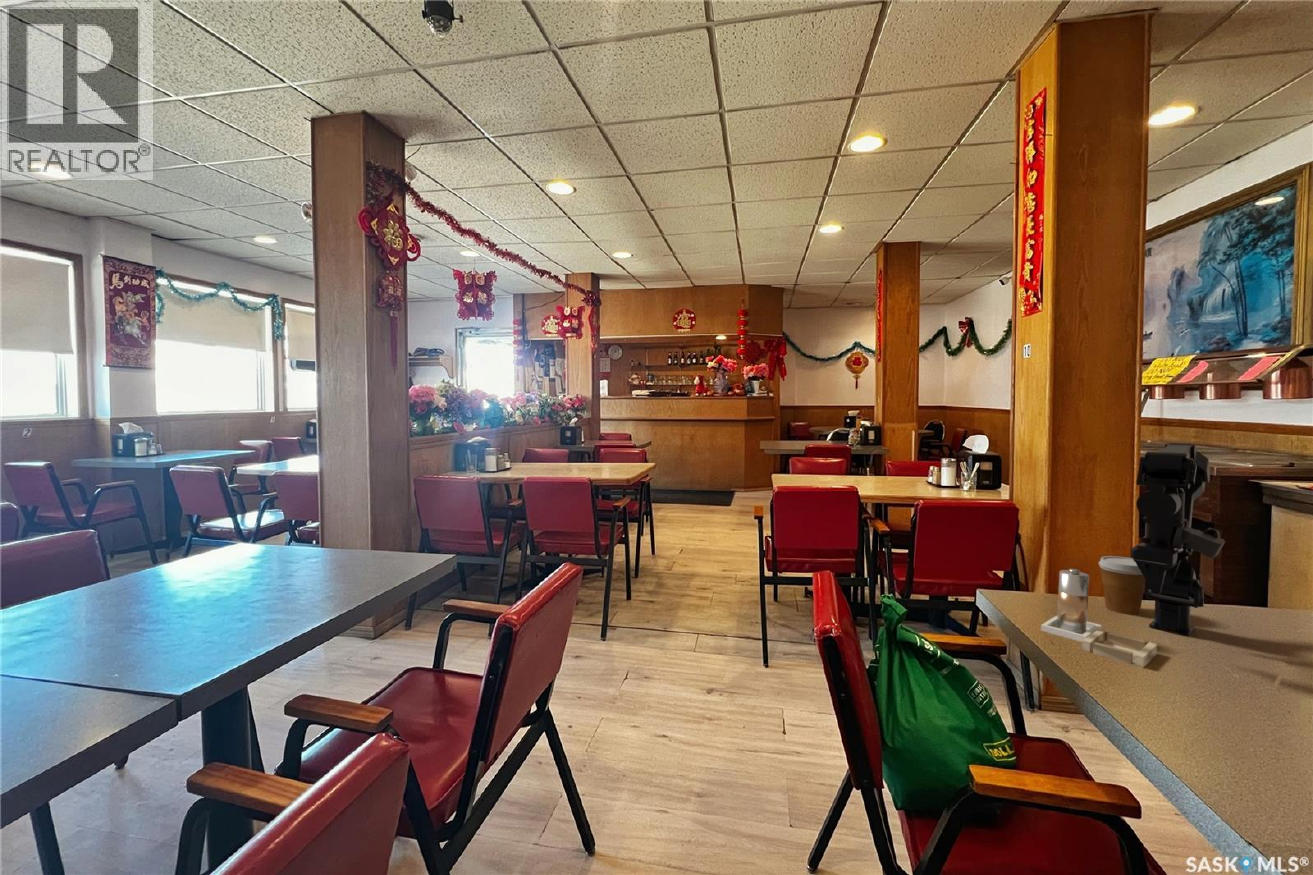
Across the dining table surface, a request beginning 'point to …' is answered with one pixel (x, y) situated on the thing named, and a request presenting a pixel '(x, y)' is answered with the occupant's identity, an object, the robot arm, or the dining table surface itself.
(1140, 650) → the tray
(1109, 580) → the disposable coffee cup
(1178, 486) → the robot arm
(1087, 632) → the tray
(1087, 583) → the battery cell
